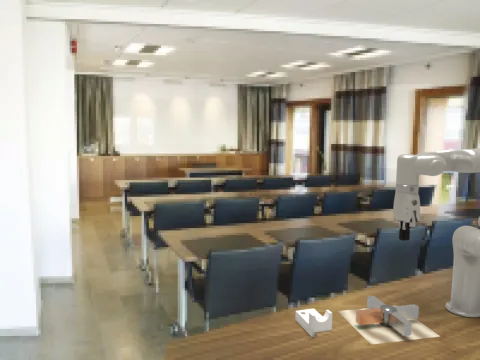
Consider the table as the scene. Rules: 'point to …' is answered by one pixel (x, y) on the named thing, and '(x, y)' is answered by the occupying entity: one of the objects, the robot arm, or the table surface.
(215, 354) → the table surface
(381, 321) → the capstan
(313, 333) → the bracket
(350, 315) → the base plate
